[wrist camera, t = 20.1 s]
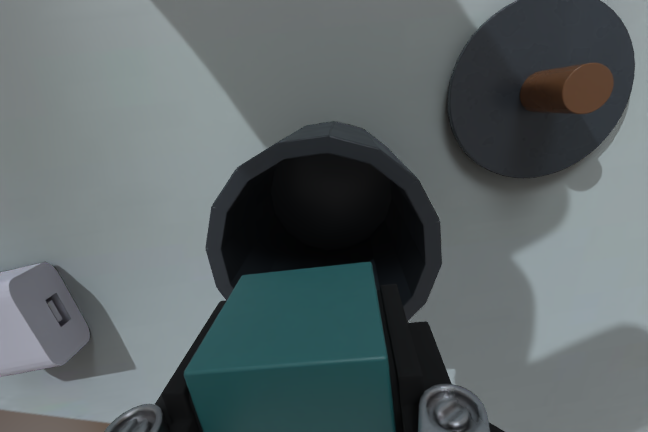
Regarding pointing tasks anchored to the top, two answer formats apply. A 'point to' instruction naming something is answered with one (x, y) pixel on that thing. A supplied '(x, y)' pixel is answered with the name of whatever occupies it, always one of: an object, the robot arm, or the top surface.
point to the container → (326, 213)
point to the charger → (37, 320)
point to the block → (296, 355)
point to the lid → (540, 85)
